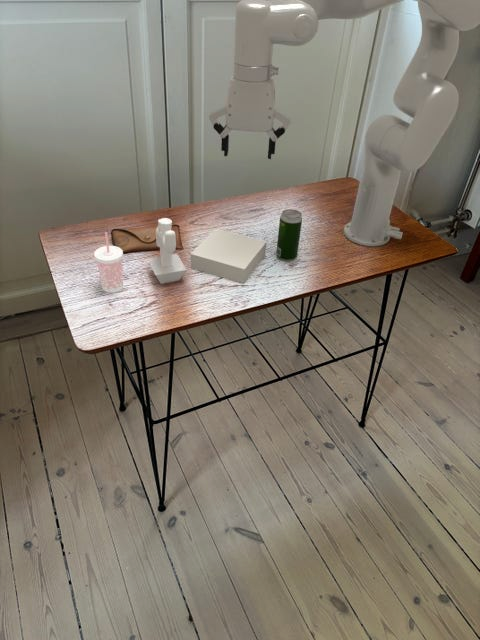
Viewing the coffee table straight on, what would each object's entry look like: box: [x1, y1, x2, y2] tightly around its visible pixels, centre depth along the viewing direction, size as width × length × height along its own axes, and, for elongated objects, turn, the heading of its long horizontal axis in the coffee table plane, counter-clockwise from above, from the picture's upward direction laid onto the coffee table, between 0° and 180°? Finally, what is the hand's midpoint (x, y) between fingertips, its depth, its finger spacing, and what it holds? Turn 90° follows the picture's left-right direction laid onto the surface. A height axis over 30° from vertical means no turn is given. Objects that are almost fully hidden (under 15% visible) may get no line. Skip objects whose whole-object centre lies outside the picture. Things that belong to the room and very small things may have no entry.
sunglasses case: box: [110, 224, 184, 255], centre depth 131 cm, size 18×7×7 cm
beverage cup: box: [93, 231, 124, 294], centre depth 112 cm, size 6×6×14 cm
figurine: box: [147, 217, 187, 285], centre depth 116 cm, size 7×9×15 cm
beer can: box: [276, 208, 303, 263], centre depth 126 cm, size 5×5×12 cm
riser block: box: [189, 227, 267, 284], centre depth 126 cm, size 14×14×4 cm
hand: (247, 155), depth 113 cm, fingers open, 9 cm apart
